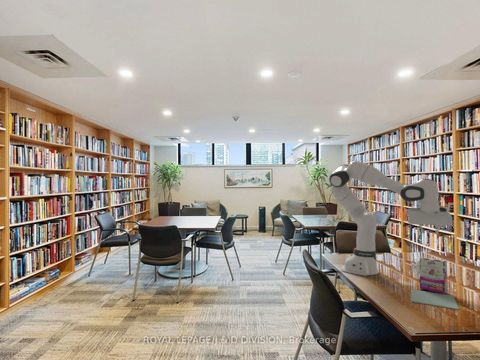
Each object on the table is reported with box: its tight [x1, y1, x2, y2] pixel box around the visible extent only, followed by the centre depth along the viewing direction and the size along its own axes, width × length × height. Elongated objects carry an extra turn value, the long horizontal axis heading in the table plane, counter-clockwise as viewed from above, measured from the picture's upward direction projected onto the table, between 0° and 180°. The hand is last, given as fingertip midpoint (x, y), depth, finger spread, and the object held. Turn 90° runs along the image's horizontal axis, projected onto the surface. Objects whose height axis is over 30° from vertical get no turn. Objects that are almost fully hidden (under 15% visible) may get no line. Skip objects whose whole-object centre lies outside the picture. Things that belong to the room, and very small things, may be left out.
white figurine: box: [410, 258, 420, 281], centre depth 164 cm, size 9×4×12 cm, turn 56°
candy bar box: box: [419, 256, 448, 295], centre depth 145 cm, size 11×5×16 cm, turn 41°
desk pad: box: [410, 288, 460, 311], centre depth 135 cm, size 18×17×1 cm
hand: (429, 233), depth 153 cm, fingers open, 5 cm apart
